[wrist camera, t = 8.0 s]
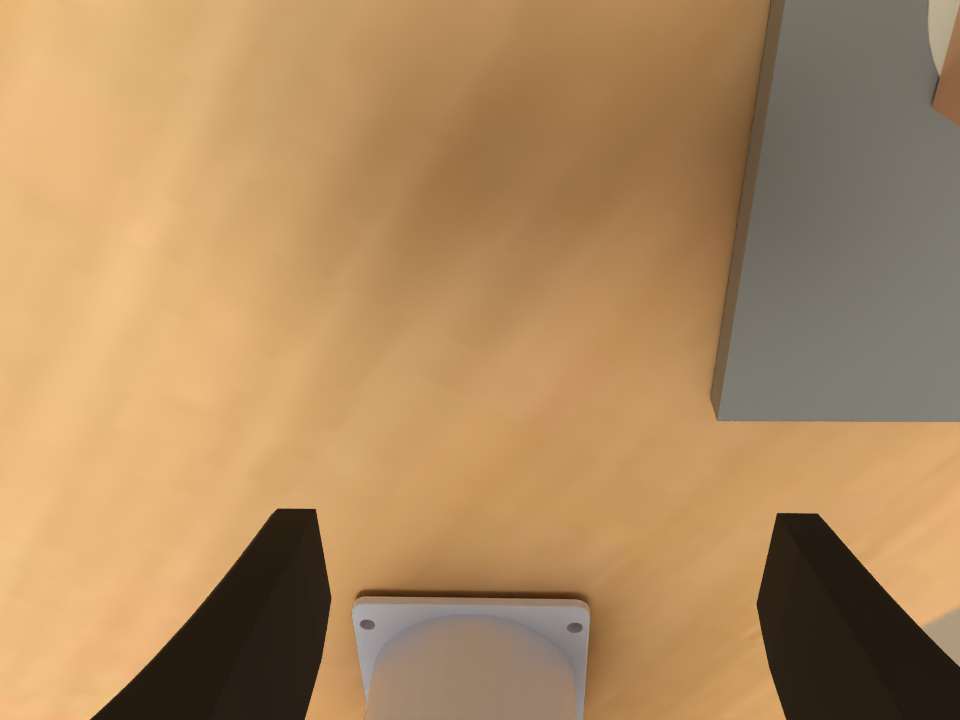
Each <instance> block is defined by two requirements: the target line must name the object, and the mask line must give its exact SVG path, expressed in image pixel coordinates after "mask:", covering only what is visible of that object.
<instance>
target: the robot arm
mask: <svg viewBox="0 0 960 720" xmlns="http://www.w3.org/2000/svg"><path fill="white" fill-rule="evenodd" d="M330 604H331V593H330V587H329V582H328V576H327V570H326V565H325V559H324V553H323V548H322V542H321V536H320V531H319V525H318V519H317V514H316V509H277V510H276V511H275V512H274V513H273V514H272V515H271V516H270V517H269V519H268V520H267V521H266V523H265V524H264V526H263V527H262V528H261V530H260V531H259V532H258V534H257V535H256V536H255V538H254V539H253V540H252V542H251V543H250V544H249V546H248V547H247V548H246V550H245V551H244V552H243V554H242V555H241V556H240V557H239V559H238V560H237V561H236V563H235V564H234V565H233V566H232V568H231V569H230V570H229V571H228V573H227V574H226V575H225V577H224V578H223V579H222V580H221V581H220V583H219V584H218V585H217V586H216V587H215V589H214V590H213V591H212V592H211V594H210V595H209V596H208V597H207V598H206V600H205V601H204V602H203V603H202V604H201V606H200V607H199V608H198V609H197V610H196V612H195V613H194V614H193V615H192V616H191V617H190V619H189V620H188V621H187V622H186V623H185V624H184V625H183V626H182V627H181V629H180V630H179V631H178V632H177V633H176V634H175V635H174V636H173V637H172V638H171V640H170V641H169V642H168V643H167V644H166V645H165V646H164V647H163V648H162V649H161V651H160V652H159V653H158V654H157V655H156V656H155V657H154V658H153V659H152V660H151V661H150V662H149V663H148V664H147V665H146V666H145V667H144V668H143V670H142V671H141V672H140V673H139V674H138V675H137V676H136V677H135V678H134V679H133V680H132V681H131V682H130V683H129V684H128V685H127V686H126V687H125V688H123V689H122V690H121V691H120V692H119V693H118V694H117V695H116V696H115V697H114V698H113V699H112V700H111V701H110V702H109V703H108V704H107V705H106V706H104V707H103V708H102V709H101V710H100V711H99V712H98V713H97V714H96V715H95V716H94V717H92V718H91V719H90V720H305V717H306V713H307V710H308V706H309V703H310V699H311V695H312V692H313V688H314V685H315V681H316V678H317V674H318V670H319V667H320V663H321V659H322V654H323V648H324V642H325V636H326V630H327V624H328V617H329V610H330ZM757 609H758V614H759V619H760V625H761V630H762V635H763V640H764V645H765V650H766V654H767V659H768V664H769V668H770V671H771V674H772V677H773V680H774V684H775V687H776V690H777V693H778V696H779V699H780V702H781V705H782V708H783V711H784V714H785V717H786V720H960V667H959V666H958V665H957V664H956V663H955V662H954V661H953V660H952V659H951V658H950V657H949V656H948V655H947V654H945V653H944V651H943V650H942V649H941V648H940V647H939V646H938V645H937V644H935V642H934V641H933V640H932V639H931V638H930V637H929V636H928V635H927V634H926V633H925V632H924V631H923V630H922V629H921V628H920V627H919V626H918V625H917V624H916V623H915V622H914V621H913V619H912V618H911V617H910V616H909V615H908V614H907V613H906V612H905V611H904V610H903V609H902V608H901V607H900V606H899V605H898V604H897V603H896V601H895V600H894V599H893V598H892V597H891V596H890V595H889V594H888V593H887V592H886V591H885V590H884V588H883V587H882V586H881V585H880V584H879V583H878V582H877V581H876V579H875V578H874V577H873V576H872V575H871V574H870V573H869V572H868V570H867V569H866V568H865V567H864V566H863V565H862V564H861V563H860V561H859V560H858V559H857V558H856V557H855V556H854V555H853V553H852V552H851V551H850V550H849V549H848V548H847V546H846V545H845V544H844V543H843V542H842V541H841V540H840V538H839V537H838V536H837V535H836V534H835V533H834V531H833V530H832V529H831V528H830V527H829V526H828V525H827V523H826V522H825V521H824V520H823V519H822V518H821V517H820V516H819V515H818V514H805V513H777V516H776V521H775V525H774V529H773V534H772V538H771V543H770V547H769V551H768V556H767V560H766V565H765V569H764V573H763V578H762V582H761V587H760V591H759V595H758V600H757ZM366 619H367V620H366ZM352 620H353V626H354V632H355V638H356V645H357V651H358V657H359V663H360V670H361V676H362V682H363V688H364V695H365V701H366V711H365V717H364V720H583V715H584V700H585V686H586V671H587V657H588V643H589V628H590V609H589V606H588V605H587V603H586V602H584V601H581V600H577V599H523V598H452V597H381V596H365V597H360V598H358V599H356V600H355V601H354V603H353V607H352ZM573 623H575V624H573Z"/></svg>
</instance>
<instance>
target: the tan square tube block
mask: <svg viewBox="0 0 960 720" xmlns="http://www.w3.org/2000/svg"><path fill="white" fill-rule="evenodd" d="M932 108H933V109H934V110H936V111H937V112H939V113H940V114H942V115H943V116H944V117H946V118H947V119H949V120H950V121H951V122H953V123H954V124H956V125H957V126H959V127H960V5H959V9H958V12H957V16H956V20H955V23H954V27H953V31H952V34H951V38H950V42H949V46H948V49H947V53H946V57H945V60H944V64H943V68H942V71H941V75H940V79H939V82H938V86H937V90H936V94H935V97H934V101H933V105H932Z"/></svg>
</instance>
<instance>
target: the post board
mask: <svg viewBox="0 0 960 720" xmlns="http://www.w3.org/2000/svg"><path fill="white" fill-rule="evenodd" d="M959 5H960V0H771V6H770V13H769V19H768V26H767V32H766V39H765V46H764V52H763V59H762V65H761V72H760V78H759V85H758V91H757V98H756V104H755V111H754V117H753V124H752V130H751V137H750V144H749V150H748V157H747V163H746V170H745V176H744V183H743V189H742V196H741V202H740V209H739V215H738V222H737V228H736V235H735V242H734V248H733V255H732V261H731V268H730V274H729V281H728V287H727V294H726V300H725V307H724V313H723V320H722V326H721V333H720V340H719V346H718V353H717V359H716V366H715V372H714V379H713V385H712V392H711V398H710V400H711V403H712V406H713V409H714V412H715V415H716V418H717V421H856V422H960V127H959V126H957V125H956V124H954V123H953V122H951V121H950V120H949V119H947V118H946V117H944V116H943V115H942V114H940V113H939V112H937V111H936V110H934V109H933V108H932V105H933V101H934V97H935V94H936V90H937V86H938V82H939V79H940V75H941V71H942V68H943V64H944V60H945V57H946V53H947V49H948V46H949V42H950V38H951V34H952V31H953V27H954V23H955V20H956V16H957V12H958V9H959Z"/></svg>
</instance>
